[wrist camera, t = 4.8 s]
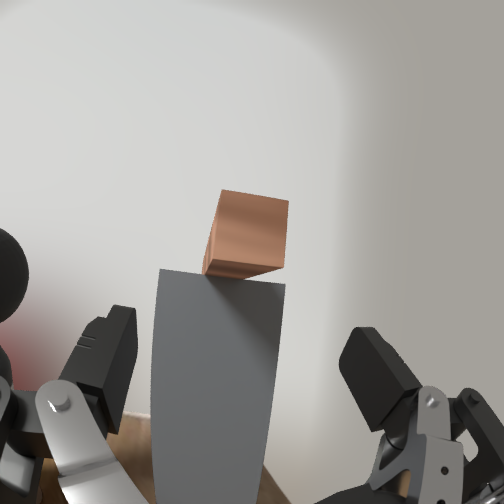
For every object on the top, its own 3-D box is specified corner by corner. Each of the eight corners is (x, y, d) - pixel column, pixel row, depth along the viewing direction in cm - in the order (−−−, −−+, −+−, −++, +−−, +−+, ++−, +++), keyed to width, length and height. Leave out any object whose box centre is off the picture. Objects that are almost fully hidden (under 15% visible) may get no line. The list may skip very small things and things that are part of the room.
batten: (283, 267, 11) (288, 200, 12) (212, 258, 11) (221, 189, 11) (222, 285, 37) (225, 263, 37) (200, 282, 36) (203, 260, 37)
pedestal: (247, 542, 16) (285, 284, 22) (162, 539, 14) (159, 268, 20) (236, 506, 24) (261, 286, 30) (164, 502, 22) (169, 275, 28)
